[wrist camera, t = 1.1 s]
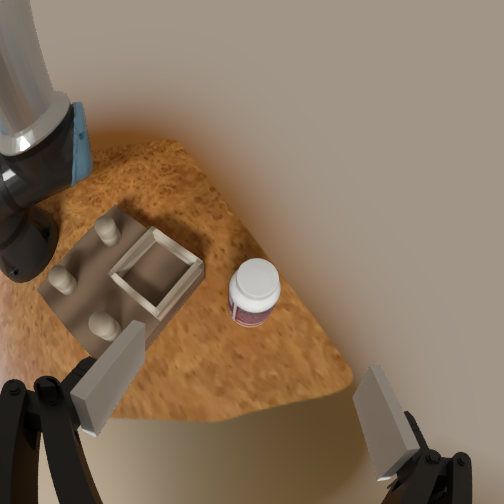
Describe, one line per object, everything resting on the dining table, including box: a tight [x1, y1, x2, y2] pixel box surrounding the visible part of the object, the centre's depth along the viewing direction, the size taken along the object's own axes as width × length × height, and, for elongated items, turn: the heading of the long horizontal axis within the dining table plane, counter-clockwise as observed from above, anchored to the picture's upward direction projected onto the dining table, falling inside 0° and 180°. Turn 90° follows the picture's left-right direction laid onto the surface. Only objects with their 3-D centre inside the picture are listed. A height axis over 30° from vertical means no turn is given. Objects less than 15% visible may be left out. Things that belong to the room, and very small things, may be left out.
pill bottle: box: [228, 258, 280, 327], centre depth 35 cm, size 6×6×11 cm
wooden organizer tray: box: [37, 205, 205, 360], centre depth 36 cm, size 20×20×7 cm
